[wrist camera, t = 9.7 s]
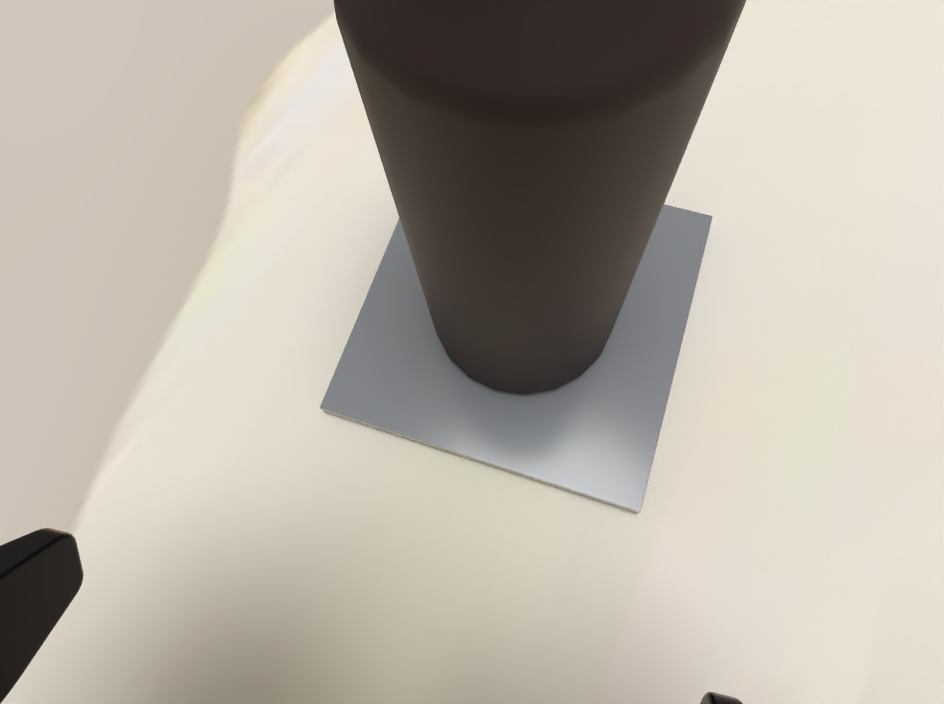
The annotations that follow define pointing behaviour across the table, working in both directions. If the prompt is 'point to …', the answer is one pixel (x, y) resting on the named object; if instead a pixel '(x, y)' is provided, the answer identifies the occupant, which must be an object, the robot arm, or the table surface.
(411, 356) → the slate coaster
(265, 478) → the table surface
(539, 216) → the vinegar
